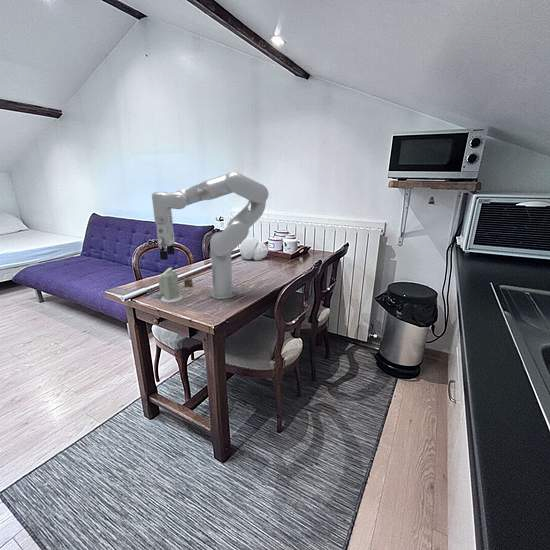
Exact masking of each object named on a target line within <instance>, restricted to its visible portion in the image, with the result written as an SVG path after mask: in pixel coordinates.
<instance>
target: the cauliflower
mask: <svg viewBox="0 0 550 550" xmlns="http://www.w3.org/2000/svg"><path fill="white" fill-rule="evenodd" d="M239 252H240V255H241V256H242V258H243V259H244V260H252V259H253V260H254V261H260V260H263V259H264V258H266V257H267V256H268V253H269V248H268V246H267V245H266V244H265V243H264V241H260V239H258V238H256V237H254V236H253V237H252V236H250V237H249V236H247V237H246V238H245V240H244V241H242V242H241V243H240V244H239ZM262 258H263V259H262Z"/></svg>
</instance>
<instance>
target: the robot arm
mask: <svg viewBox="0 0 550 550" xmlns="http://www.w3.org/2000/svg"><path fill="white" fill-rule="evenodd" d="M230 194H236V195H238V196H240V197H242V198H245V199H246V200H248V202H247V204H246V205H245V206H244V207H243V208H242V209H241V210H240V211H239V212H238V213H237V214H235V216H234V217H233V218H231V219H230V220H229V221H228V223H227V226H226V227H225V228H224V229H223V230H222V231H218V232H215V233H213V234H212V235H211V238H210V242H209V248H210V256H211V257H210V259H211V271H212V272H211V273H212V287H213V288H212V290H211V291H210V293H209V294H210V296H211V298H214V299H218V300H225V299H226V300H227V299H231V298H233V297H235V296H236V293H242V288H240V287H238V286H237V287H236V286H235V285H234V284H233V275H232V274H233V272H232V271H233V270H232V268H233V267H232V252H233V251H234V250H235V249H236V248H237V247H239V246H240V245H241V243H242V241H244V240H245V239H246V238H248V235H249V234H250V233H249V232H250V228H251V227H252V226H254V224H256V222H257V221H258V220H259V219H260V218H261V217H262V215H263V214H264V212H265V209H266V205H267V200H268V198H269V191H268V187H266V186H265V185H264V184H262V183H261V182H258V181H256V180H254V179H252V178H250V177H247V176H245V175H243V174H242V173H241V172H238V171H232V172H229V173H226V174H222V175H219V176H217V177H214V178H210V179H207V180H204V181H202V182H200V183H198V184H195V185H192V186H189V187H185V188H183V189H180V190H177V191H174V192H167V191H155V192H153V193H152V194H151V200H152V208H153V209H152V211H153V216H154V223H155V225H156V235H157V236H156V237H157V246H158V251H159V258H160V260H161V261H168V260H169V257H168V255H175V247H174V246H175V242H176V238H175V233H174V225H173V222H174V221H173V211H172V209H173V210H182V209H185V208H186V207H187V206H189V205H192V204H197V203H199V202H202V201H210V200H214V199H215V200H216V199H218V198H220V197H224V196H226V195H230Z"/></svg>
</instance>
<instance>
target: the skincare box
mask: <svg viewBox="0 0 550 550" xmlns="http://www.w3.org/2000/svg"><path fill="white" fill-rule="evenodd" d="M160 275H161V274H160ZM161 276H162V284H163V292H164V298H165V299H167V300H171V299H174V298H177V297H180V294H181V293H180V286H179V285H180V284H179V277H178V273H177V272H174V271H173V272H170V273H166V274H163V275H161Z"/></svg>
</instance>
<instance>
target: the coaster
mask: <svg viewBox="0 0 550 550" xmlns="http://www.w3.org/2000/svg"><path fill="white" fill-rule="evenodd" d="M179 294H180V297H177V298H174V299H171V300H167V299H165V298H164V296H161V297H160V301H161V302H162V303H165V304H167V303H168V304H172V303H177V302H179V301H182V299H183V298H184V297H183V295H182V294H181V293H179Z"/></svg>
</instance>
